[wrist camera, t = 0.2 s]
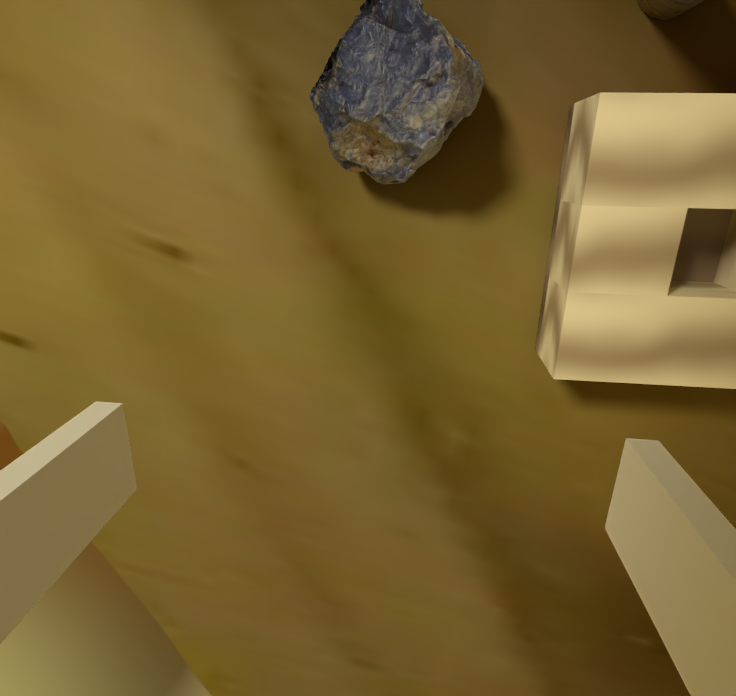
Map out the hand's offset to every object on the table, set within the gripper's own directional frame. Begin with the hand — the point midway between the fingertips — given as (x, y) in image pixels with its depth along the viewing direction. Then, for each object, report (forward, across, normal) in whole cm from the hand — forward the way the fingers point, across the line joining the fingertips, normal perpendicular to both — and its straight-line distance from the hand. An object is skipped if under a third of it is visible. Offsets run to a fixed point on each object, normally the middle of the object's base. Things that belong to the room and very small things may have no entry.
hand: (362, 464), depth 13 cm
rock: (+28, -1, +12) cm, 30 cm away
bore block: (+28, +20, +3) cm, 34 cm away
